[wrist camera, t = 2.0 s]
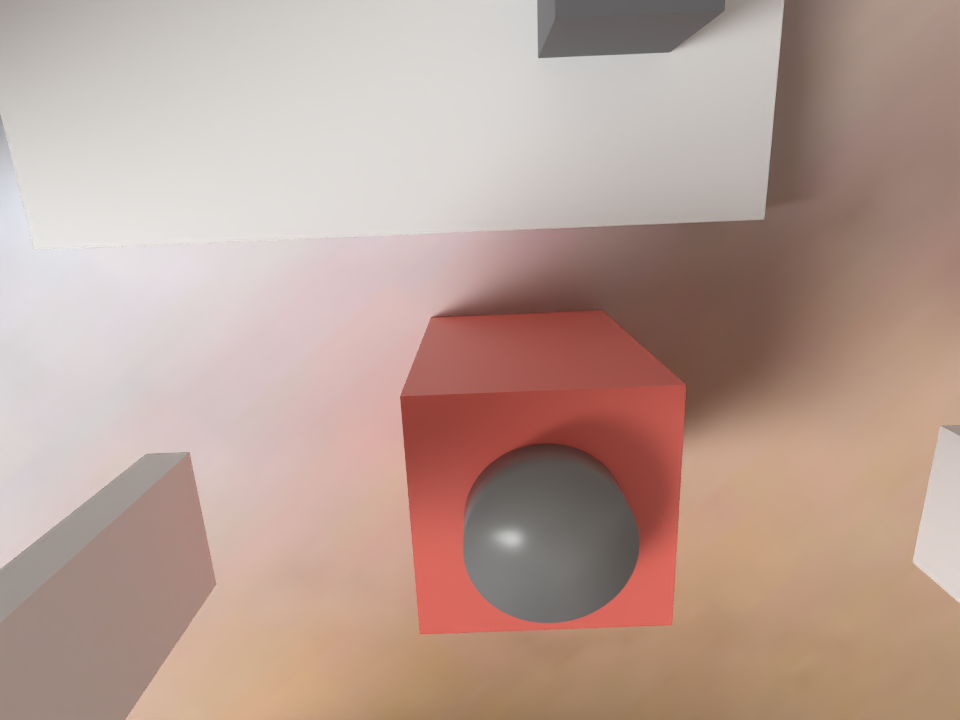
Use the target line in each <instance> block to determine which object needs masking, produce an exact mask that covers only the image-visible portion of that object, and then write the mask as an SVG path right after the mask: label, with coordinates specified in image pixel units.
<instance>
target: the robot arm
mask: <svg viewBox="0 0 960 720" xmlns="http://www.w3.org/2000/svg"><path fill="white" fill-rule="evenodd" d="M913 563H914V564H915V565H916V566H917V567H919V568H920V569H921V570H922V571H923V572H924V573H925V574H927V575H928V576H929V577H930V578H931V579H932V580H934V581H935V582H936V583H937V584H938V585H939V586H940V587H942V588H943V589H944V590H945V591H946V592H947V593H948V594H950V595H951V596H952V597H953V598H954V599H955V600H956V601H958V602H959V603H960V425H951V426H940V430H939V435H938V440H937V445H936V450H935V455H934V460H933V464H932V469H931V474H930V479H929V484H928V489H927V494H926V499H925V504H924V508H923V513H922V518H921V523H920V528H919V533H918V538H917V543H916V548H915V552H914V557H913ZM215 585H216V580H215V575H214V570H213V566H212V561H211V556H210V551H209V546H208V541H207V536H206V531H205V526H204V521H203V517H202V512H201V507H200V502H199V497H198V492H197V487H196V482H195V477H194V472H193V468H192V463H191V458H190V453H189V452H185V453H157V454H146V455H144V456H143V457H142V458H141V459H139V460H138V461H137V462H136V463H134V464H133V465H132V466H131V467H129V468H128V469H127V470H126V471H124V472H123V473H122V474H120V475H119V476H118V477H117V478H115V479H114V480H113V481H112V482H110V483H109V484H108V485H107V486H105V487H104V488H103V489H101V490H100V491H99V492H98V493H96V494H95V495H94V496H93V497H91V498H90V499H89V500H88V501H86V502H85V503H84V504H83V505H81V506H80V507H79V508H77V509H76V510H75V511H74V512H72V513H71V514H70V515H69V516H67V517H66V518H65V519H64V520H62V521H61V522H60V523H58V524H57V525H56V526H55V527H53V528H52V529H51V530H50V531H48V532H47V533H46V534H45V535H43V536H42V537H41V538H40V539H38V540H37V541H36V542H34V543H33V544H32V545H31V546H29V547H28V548H27V549H26V550H24V551H23V552H22V553H21V554H19V555H18V556H17V557H15V558H14V559H13V560H12V561H10V562H9V563H8V564H7V565H5V566H4V567H3V568H2V569H0V720H125V719H126V717H127V716H128V714H129V713H130V711H131V710H132V708H133V707H134V706H135V704H136V703H137V701H138V700H139V698H140V697H141V695H142V694H143V692H144V691H145V689H146V688H147V686H148V685H149V683H150V682H151V680H152V679H153V677H154V676H155V674H156V673H157V671H158V670H159V668H160V667H161V665H162V664H163V662H164V661H165V659H166V658H167V656H168V655H169V654H170V652H171V651H172V649H173V648H174V646H175V645H176V643H177V642H178V640H179V639H180V637H181V636H182V634H183V633H184V631H185V630H186V628H187V627H188V625H189V624H190V622H191V621H192V619H193V618H194V616H195V615H196V613H197V612H198V610H199V609H200V607H201V606H202V605H203V603H204V602H205V600H206V599H207V597H208V596H209V594H210V593H211V591H212V590H213V588H214V587H215Z"/></svg>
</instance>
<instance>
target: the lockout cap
mask: <svg viewBox="0 0 960 720" xmlns="http://www.w3.org/2000/svg"><path fill="white" fill-rule="evenodd" d="M685 398H686V384H685V383H684V382H683V381H681V380H680V379H679V378H678V377H677V376H676V375H675V374H674V373H672V372H671V371H670V370H669V369H668V368H667V367H666V366H665V365H663V364H662V363H661V362H660V361H659V360H658V359H657V358H656V357H654V356H653V355H652V354H651V353H650V352H649V351H648V350H646V349H645V348H644V347H643V346H642V345H641V344H640V343H639V342H637V341H636V340H635V339H634V338H633V337H632V336H631V335H630V334H628V333H627V332H626V331H625V330H624V329H623V328H622V327H621V326H619V325H618V324H617V323H616V322H615V321H614V320H613V319H612V318H610V317H609V316H608V315H607V314H606V313H605V312H604V311H602V310H598V311H574V312H550V313H525V314H501V315H476V316H452V317H431V319H430V321H429V324H428V326H427V329H426V332H425V334H424V337H423V339H422V342H421V344H420V347H419V350H418V352H417V355H416V357H415V360H414V362H413V365H412V367H411V370H410V373H409V375H408V378H407V380H406V383H405V385H404V388H403V391H402V393H401V396H400V399H401V411H402V423H403V435H404V448H405V460H406V472H407V484H408V496H409V508H410V520H411V532H412V544H413V556H414V569H415V581H416V593H417V605H418V617H419V629H420V634H442V633H468V632H495V631H522V630H548V629H575V628H601V627H628V626H655V625H672V618H673V601H674V585H675V568H676V551H677V534H678V517H679V500H680V483H681V466H682V449H683V432H684V415H685Z"/></svg>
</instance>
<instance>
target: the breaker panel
mask: <svg viewBox="0 0 960 720" xmlns="http://www.w3.org/2000/svg"><path fill="white" fill-rule="evenodd" d="M783 10H784V0H0V114H1V118H2V122H3V127H4V131H5V135H6V139H7V143H8V147H9V151H10V155H11V159H12V163H13V167H14V171H15V175H16V179H17V183H18V187H19V191H20V195H21V199H22V203H23V207H24V211H25V216H26V220H27V224H28V228H29V232H30V236H31V240H32V244H33V248H34V250H52V249H76V248H100V247H123V246H147V245H171V244H195V243H219V242H242V241H266V240H290V239H314V238H338V237H361V236H385V235H409V234H433V233H457V232H480V231H504V230H528V229H552V228H576V227H599V226H623V225H647V224H671V223H695V222H718V221H742V220H764V219H765V208H766V197H767V186H768V175H769V164H770V153H771V142H772V131H773V120H774V109H775V98H776V87H777V76H778V65H779V54H780V43H781V32H782V21H783Z"/></svg>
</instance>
